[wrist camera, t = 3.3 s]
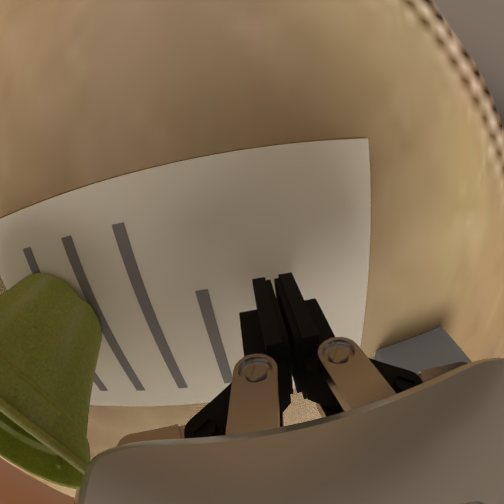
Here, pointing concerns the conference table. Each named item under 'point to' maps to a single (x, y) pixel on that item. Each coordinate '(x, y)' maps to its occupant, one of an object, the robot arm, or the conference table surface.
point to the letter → (200, 258)
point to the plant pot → (47, 378)
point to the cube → (423, 352)
